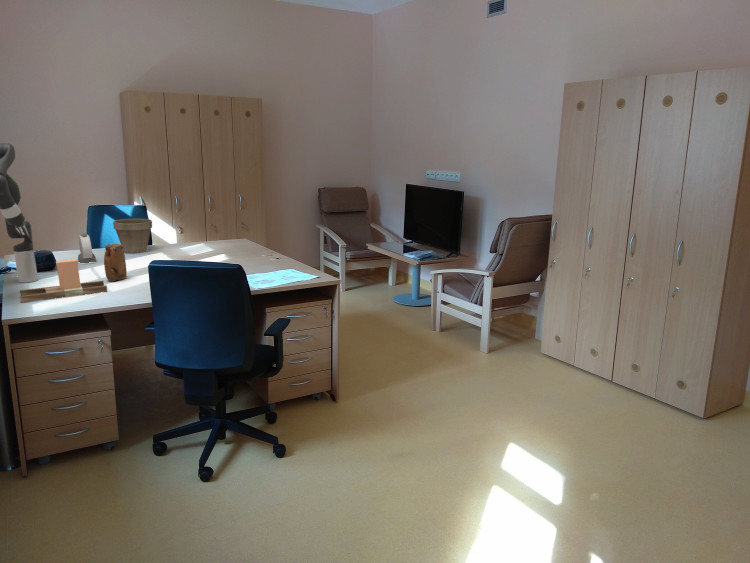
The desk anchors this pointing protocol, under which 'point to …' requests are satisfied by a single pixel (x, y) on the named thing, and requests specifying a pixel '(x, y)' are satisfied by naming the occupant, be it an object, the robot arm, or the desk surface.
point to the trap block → (68, 274)
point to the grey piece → (85, 250)
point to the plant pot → (133, 234)
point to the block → (114, 262)
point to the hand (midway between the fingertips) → (29, 242)
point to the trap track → (61, 291)
